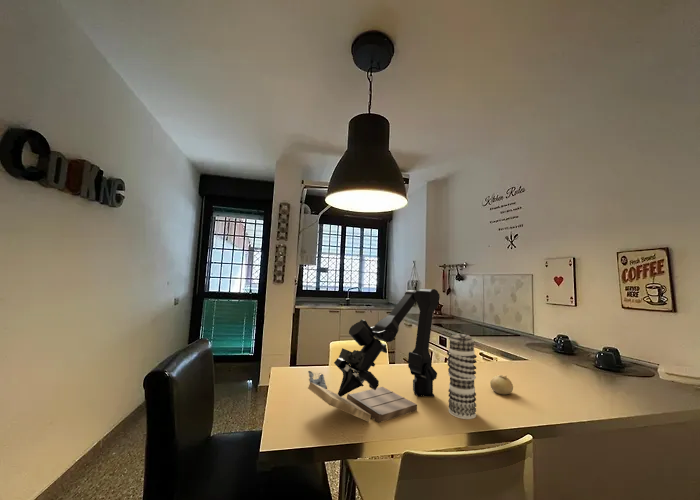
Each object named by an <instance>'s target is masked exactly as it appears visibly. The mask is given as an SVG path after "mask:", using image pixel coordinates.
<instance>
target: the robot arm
mask: <svg viewBox="0 0 700 500" xmlns="http://www.w3.org/2000/svg"><path fill="white" fill-rule="evenodd" d="M440 296H441V295H440V293H439V292H438V290H437V289H435V288H423V287H422V288H420V289H419V290H416V289H414V290H413V289H408V290H406V291H405V293H404V295H403V296H402V297H401V299H400V300H399V301H398V303H397V304H396V305H395V306H394V308H393V309H392V310H391V312H390V313H389V314H388V315H387V316H385V317H384V318H381V319H380V320H379V321H378V322H376V323H375V325H374V326H370V325H369V323H368V322H367V321H366V320H365V319H360V321H357V322H356V323H354V324H352V325H351V326H350V328H349V329H348V335H349V336H351V338H352V339H353V340H354V341H355V342H356V344H358V345H359V346H360V347H362V348H361V349H360V350H357V349H356V350H355V349H354V350H353V351H350V350H347V349H345V348H341V350H340V353H339V355H338V358H336V360H335V361H334V362H333V363H334V365H335V366H336V367H337V368H338V369H339V370H340V371H341V372H342V379H341V383H340V387H339V390H338V392H337V394H338V395H339V396H340V397H344V396H345V395H346V394H349V393H350V392H353V391H354V390H357V389H358V388H361V387H364V382H367V384H368V387H369V388H370V389H374V390H376V389H377V388H379V385H380V384H379V379H378V378H377V377H376V376H375V375H374V374H373V373H372V371H369V370H370V368H371V367H373V368H374V367H375V366H376V363H375V361H376V360H377V358H378V356H379V355H380V354H381V352H382V353H385V354H387V353H388V349H387V344H386V343H392V342H393V341H394V340H395V339H396V337H397V334H398V332H399V329H400V325H401V323H402V321H403V320H404V319H405V317H406V316H407V315H408V313H409V312H410V311H411V309H412V308H413V307H414V305H415V304H417V307H418V310H419V314H418V322H417V330H416V338H415V345H414V349H413V350H412V351H409V352H408V357H407V361H406V362H407V366H408V369H409V371H410V375H413V376H414V379H412V391H413V392H414V394H415V396H416V397H421V398H422V397H424V398H425V397H428V398H429V397H430V398H432V397H433V398H434V397H435V393H434V392H433V391H434V381H435V380H436V379H437V376H438V372H437V371H436V370H435V368H434V367H433V366H432V365H433V363H432V361H433V359H432V357H431V354H430V351H429V348H430V340H431V339H430V338H431V332H432V331H431V330H432V323H433V316H434V315H433V314H434V312H435V310H436V309H437V308H438V306H439V303H440V298H441V297H440ZM381 341H383V342H386V343H382V342H381Z"/></svg>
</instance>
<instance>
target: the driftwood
mask: <svg viewBox="0 0 700 500" xmlns="http://www.w3.org/2000/svg"><path fill="white" fill-rule="evenodd" d="M320 373H321V372H319V373H318V374H319V376H318V378H316V379H314V376H315V374H314V372H313V371H312V370H308V376H309V378H308V379H309V384H310V383H311V382H312V383H314V384H316V385H318V386H320V387H322V388H325V389H327V388H328V386H327V385H326V381H325V376H324V374H322V373H321V374H320Z"/></svg>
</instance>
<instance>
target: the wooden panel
mask: <svg viewBox="0 0 700 500" xmlns="http://www.w3.org/2000/svg"><path fill="white" fill-rule="evenodd" d="M346 399H348V400H349V401H351V402H352V403H354V404H355V405H357V406H358V407H360V408H361V409H363V410H364V411H366V412H367V413H369V414H370V415H371V417H370V419H373V420H374V421H376V422H377V423H379V424H380V423H382V422H386V421H389V420H392V419H395V418H398V417H402V416H405V415H408V414H411V413H414V412H417V411H418V404H417V403H415V402H413V401H412V400H409V399H408V398H405V396H401V395H400V394H397V393H396V392H394V391H392V390H390V389H388V388H386V387H384V386H380V387H379V386H378V387H377V389H376V390H374V389H372V388H370V389H367V390H363V391H359V392H355V393H354V392H353V393H350V392H349V393H347V395H346Z"/></svg>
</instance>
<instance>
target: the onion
mask: <svg viewBox="0 0 700 500" xmlns="http://www.w3.org/2000/svg"><path fill="white" fill-rule="evenodd" d="M490 389H491V390H493V392H494V393H497V394H499V395H510V394H511V393H512V392H513V390H514V386H513V383H512V380H510V378H509V377H508V376H507V375H503V374H498V375H495V376H493V377H492V378H491V379H490Z"/></svg>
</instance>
